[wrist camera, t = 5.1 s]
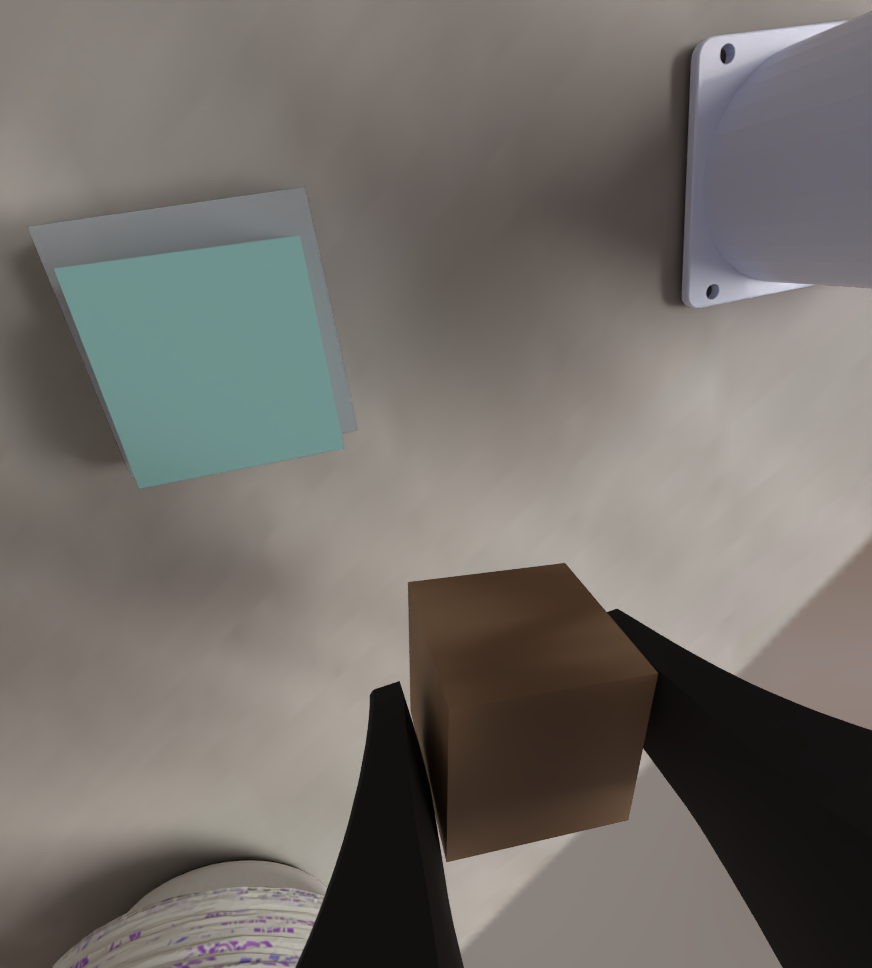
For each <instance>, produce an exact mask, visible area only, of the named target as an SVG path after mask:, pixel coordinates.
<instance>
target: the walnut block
mask: <svg viewBox="0 0 872 968" xmlns="http://www.w3.org/2000/svg"><path fill="white" fill-rule="evenodd" d="M408 606H409V654H410V702H411V714H412V718H413V723H414V727H415V731H416V735H417V738H418V741H419V744H420V748H421V752H422V756H423V760H424V764H425V768H426V772H427V776H428V779H429V783H430V787H431V793H432V799H433V805H434V811H435V815H436V820H437V824H438V828H439V832H440V837H441V841H442V845H443V849H444V853H445V858H446V862H449V861H454V860H458V859H462V858H467V857H471V856H475V855H480V854H484V853H488V852H493V851H497V850H501V849H506V848H510V847H514V846H519V845H523V844H527V843H532V842H536V841H540V840H545V839H549V838H553V837H557V836H562V835H566V834H570V833H575V832H579V831H583V830H588V829H592V828H596V827H600V826H605V825H609V824H614V823H618V822H622V821H627V820H628V818H629V813H630V809H631V804H632V799H633V793H634V789H635V784H636V779H637V775H638V770H639V765H640V760H641V755H642V750H643V745H644V740H645V736H646V731H647V726H648V721H649V716H650V711H651V706H652V701H653V696H654V692H655V687H656V682H657V677H658V672H657V671H656V670H655V669H654V668H653V666H652V665H651V664H650V663H649V662H648V661H647V659H646V658H645V657H644V656H643V655H642V653H641V652H640V651H639V650H638V649H637V648H636V646H635V645H634V644H633V643H632V642H631V640H630V639H629V638H628V637H627V636H626V635H625V633H624V632H623V631H622V630H621V629H620V627H619V626H618V625H617V624H616V623H615V622H614V620H613V619H612V618H611V617H610V616H609V614H608V613H607V612H606V611H605V610H604V609H603V607H602V606H601V605H600V604H599V603H598V601H597V600H596V599H595V598H594V597H593V596H592V594H591V593H590V592H589V591H588V590H587V588H586V587H585V586H584V585H583V584H582V583H581V581H580V580H579V579H578V578H577V577H576V575H575V574H574V573H573V572H572V571H571V570H570V568H569V567H568V566H567V565H566V564H565V563H561V564H553V565H545V566H537V567H529V568H521V569H512V570H504V571H496V572H488V573H480V574H471V575H463V576H455V577H447V578H439V579H431V580H422V581H414V582H408Z"/></svg>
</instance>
